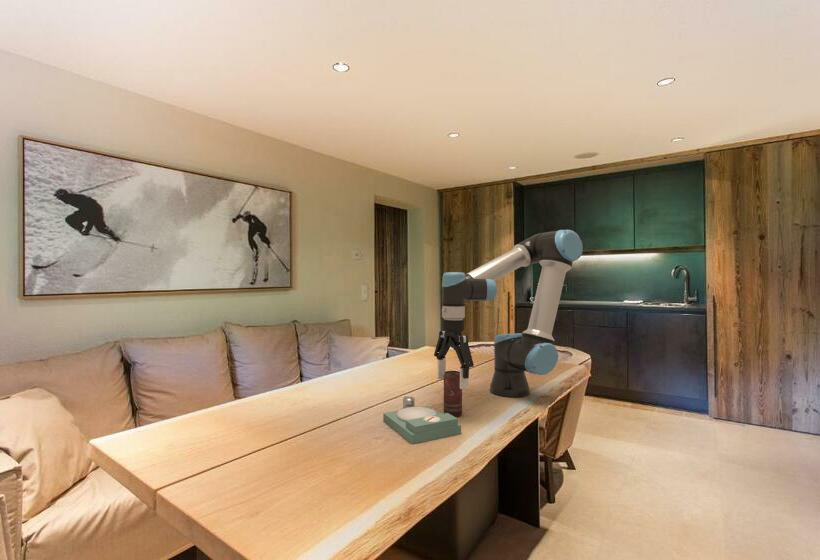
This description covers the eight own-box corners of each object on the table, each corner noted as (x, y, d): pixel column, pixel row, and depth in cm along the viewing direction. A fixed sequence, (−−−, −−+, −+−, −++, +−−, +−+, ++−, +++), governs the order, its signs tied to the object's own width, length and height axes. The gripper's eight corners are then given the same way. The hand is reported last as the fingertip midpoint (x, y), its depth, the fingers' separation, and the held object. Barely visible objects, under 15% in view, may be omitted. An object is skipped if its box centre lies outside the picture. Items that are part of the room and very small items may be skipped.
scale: (427, 413, 135) (427, 398, 135) (461, 433, 117) (461, 416, 117) (383, 420, 128) (383, 405, 128) (412, 444, 110) (412, 426, 110)
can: (462, 418, 130) (462, 374, 130) (442, 416, 132) (442, 373, 131) (463, 412, 136) (463, 370, 136) (444, 410, 138) (444, 369, 137)
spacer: (411, 407, 141) (411, 395, 141) (416, 410, 138) (416, 399, 138) (401, 409, 140) (400, 397, 140) (406, 412, 136) (406, 400, 136)
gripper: (424, 315, 143) (424, 375, 143) (465, 323, 121) (464, 394, 121) (443, 315, 146) (442, 373, 146) (485, 322, 124) (484, 391, 124)
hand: (452, 383), depth 134 cm, fingers open, 13 cm apart
